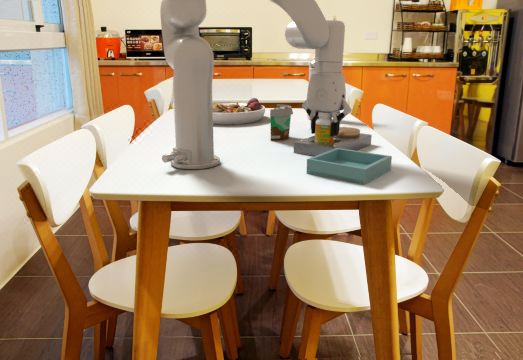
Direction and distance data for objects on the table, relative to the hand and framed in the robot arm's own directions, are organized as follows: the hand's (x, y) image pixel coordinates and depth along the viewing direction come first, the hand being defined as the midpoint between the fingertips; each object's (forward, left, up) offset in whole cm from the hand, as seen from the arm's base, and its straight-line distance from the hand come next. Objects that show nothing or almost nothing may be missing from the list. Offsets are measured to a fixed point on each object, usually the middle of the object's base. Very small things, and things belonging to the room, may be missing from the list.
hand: (324, 133), depth 135 cm
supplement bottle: (0, 0, -4) cm, 4 cm away
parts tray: (-15, -15, -5) cm, 22 cm away
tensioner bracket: (+5, 0, -5) cm, 8 cm away
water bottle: (+46, +30, -5) cm, 55 cm away
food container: (+8, +20, -5) cm, 22 cm away
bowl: (+25, +58, -6) cm, 63 cm away
